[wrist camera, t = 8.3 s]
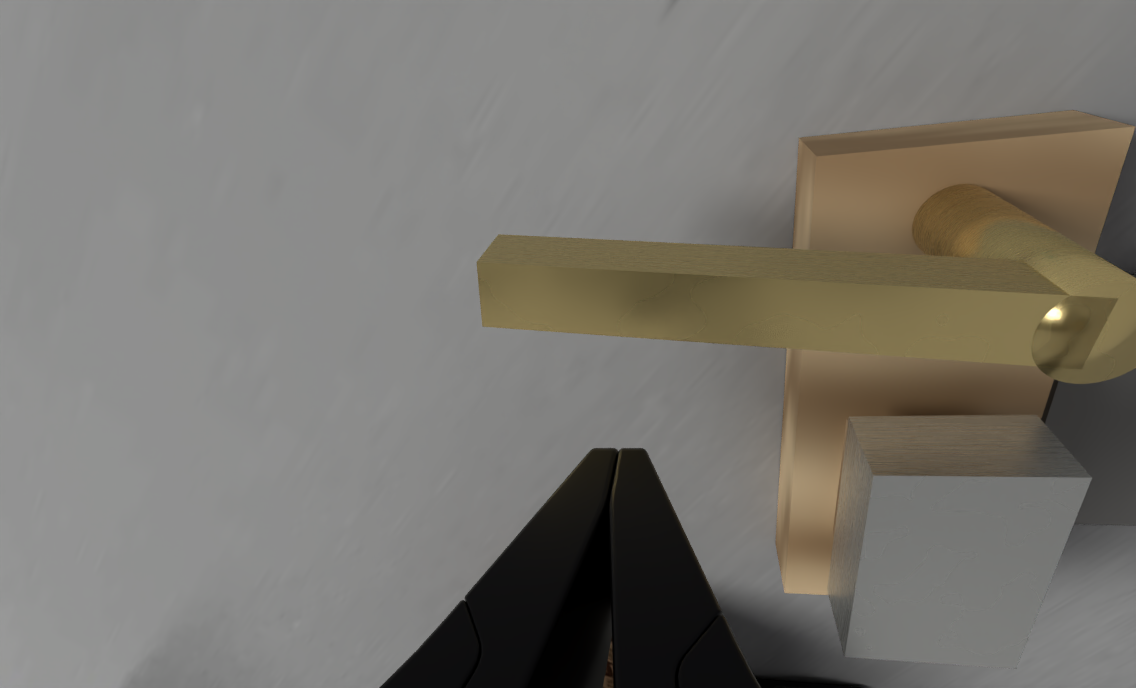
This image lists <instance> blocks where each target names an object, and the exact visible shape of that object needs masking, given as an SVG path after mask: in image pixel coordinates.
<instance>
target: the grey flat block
mask: <svg viewBox="0 0 1136 688" xmlns="http://www.w3.org/2000/svg"><path fill="white" fill-rule="evenodd" d="M1091 479H1092V477H1091V476H1090V475H1089V474H1088V472H1087V471H1086V470H1085V469H1084V468H1083V467H1082V466H1081V464H1080V463H1079V462H1078V461H1077V460H1076V459H1075V458H1074V457H1073V455H1072V454H1071V453H1070V452H1069V451H1068V450H1067V449H1066V447H1065V446H1064V445H1063V444H1062V443H1061V442H1060V441H1059V439H1058V438H1057V437H1056V436H1055V435H1054V434H1053V433H1052V432H1051V430H1050V429H1049V428H1048V427H1047V426H1046V425H1045V424H1044V422H1043V421H1042V420H1041V419H1040V418H1039V417H1038V416H1037V415H958V416H849V419H848V427H847V435H846V443H845V451H844V459H843V467H842V475H841V483H840V491H839V499H838V507H837V515H836V523H835V531H834V539H833V547H832V555H831V563H830V571H829V579H828V587H827V591H828V595H829V599H830V603H831V607H832V611H833V615H834V618H835V622H836V626H837V630H838V634H839V638H840V642H841V646H842V649H843V653H844V657H849V658H863V659H878V660H892V661H907V662H921V663H936V664H950V665H965V666H979V667H994V668H1008V669H1016V668H1017V665H1018V663H1019V660H1020V658H1021V655H1022V653H1023V650H1024V648H1025V645H1026V643H1027V640H1028V638H1029V635H1030V633H1031V630H1032V628H1033V625H1034V623H1035V620H1036V618H1037V615H1038V613H1039V610H1040V607H1041V605H1042V602H1043V600H1044V597H1045V595H1046V592H1047V590H1048V587H1049V585H1050V582H1051V580H1052V577H1053V575H1054V572H1055V570H1056V567H1057V565H1058V562H1059V560H1060V557H1061V555H1062V552H1063V550H1064V547H1065V545H1066V542H1067V540H1068V537H1069V535H1070V532H1071V530H1072V527H1073V525H1074V522H1075V520H1076V517H1077V515H1078V512H1079V510H1080V507H1081V505H1082V502H1083V500H1084V497H1085V495H1086V492H1087V489H1088V487H1089V484H1090V482H1091Z"/></svg>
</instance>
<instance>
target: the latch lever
mask: <svg viewBox="0 0 1136 688" xmlns="http://www.w3.org/2000/svg"><path fill="white" fill-rule="evenodd" d="M912 236H913V239H914V242H915V244H916V245H917V247H918V248H919V249H920V250H921V251H922V252H923V253H924V254H925V255H910V254H890V253H869V252H849V251H828V250H808V249H787V248H767V247H746V246H725V245H705V244H684V243H664V242H643V241H623V240H602V239H582V238H561V237H541V236H520V235H500V234H498V236H497V237H496V238H495V239H494V241H493V242H492V243H491V245H490V246H489V247H488V248H487V250H486V251H485V252H484V254H483V255H482V256H481V257H480V259H479V260H478V261H477V271H478V282H479V293H480V304H481V315H482V326H483V327H496V328H510V329H524V330H538V331H552V332H566V333H580V334H594V335H607V336H621V337H635V338H649V339H663V340H677V341H691V342H705V343H718V344H732V345H746V346H760V347H774V348H788V349H802V350H816V351H829V352H843V353H857V354H871V355H885V356H899V357H913V358H927V359H941V360H954V361H968V362H982V363H996V364H1010V365H1024V366H1037V367H1038V368H1039V369H1040V370H1041V371H1042V372H1043V373H1044V374H1046V375H1047V376H1049V377H1051V378H1053V379H1055V380H1058V381H1061V382H1066V383H1073V384H1089V383H1096V382H1102V381H1106V380H1110V379H1113V378H1116V377H1118V376H1121V375H1123V374H1125V373H1127V372H1129V371H1131V370H1133V369H1135V368H1136V278H1135V277H1133V276H1131V275H1130V274H1128V273H1126V272H1125V271H1123V270H1121V269H1120V268H1118V267H1116V266H1115V265H1113V264H1111V263H1109V262H1108V261H1106V260H1104V259H1103V258H1101V257H1099V256H1098V255H1096V254H1094V253H1093V252H1091V251H1089V250H1088V249H1086V248H1084V247H1083V246H1081V245H1079V244H1077V243H1076V242H1074V241H1072V240H1071V239H1069V238H1067V237H1066V236H1064V235H1062V234H1061V233H1059V232H1057V231H1056V230H1054V229H1052V228H1050V227H1049V226H1047V225H1045V224H1044V223H1042V222H1040V221H1039V220H1037V219H1035V218H1034V217H1032V216H1030V215H1029V214H1027V213H1025V212H1024V211H1022V210H1020V209H1018V208H1017V207H1015V206H1013V205H1012V204H1010V203H1008V202H1007V201H1005V200H1003V199H1002V198H1000V197H998V196H997V195H995V194H993V193H991V192H990V191H988V190H986V189H985V188H983V187H980V186H978V185H973V184H958V185H953V186H949V187H947V188H944V189H942V190H940V191H938V192H937V193H935V194H933V195H932V196H931V197H929V198H928V199H927V200H926V201H925V202H924V203H923V204H922V206H921V207H920V208H919V210H918V211H917V213H916V215H915V217H914V220H913V224H912Z"/></svg>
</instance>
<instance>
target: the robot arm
mask: <svg viewBox="0 0 1136 688" xmlns="http://www.w3.org/2000/svg"><path fill="white" fill-rule="evenodd" d="M465 601H466V602H465ZM465 601H464V600H462V601H460V602H459V604H458V605H457V606H456V607H455V608H454V609H453V611H452V612H451V613H450V614H449V615H448V616H447V618H446V619H445V620H444V621H443V622H442V623H441V624H440V625H439V626H438V628H437V629H436V630H435V631H434V632H433V633H432V634H431V635H430V636H429V637H428V639H427V640H426V641H425V642H424V643H423V644H422V645H421V646H420V647H419V649H418V650H417V651H416V652H415V653H414V654H413V655H412V656H411V657H410V658H409V659H408V660H407V661H406V662H405V663H404V664H403V665H402V666H401V667H400V668H399V669H398V670H397V671H396V672H395V673H394V674H393V675H392V676H391V677H390V678H389V679H388V680H387V681H386V682H385V683H384V684H383V685H382V686H381V687H379V688H603V684H604V678H605V672H606V666H607V661H608V655H609V649H610V643H611V637H612V653H613V687H614V688H859V687H848V686H835V685H822V684H810V683H797V682H784V681H771V680H759V679H756V678H755V677H754V675H753V673H752V671H751V669H750V667H749V665H748V663H747V661H746V659H745V657H744V655H743V653H742V651H741V649H740V647H739V645H738V643H737V642H736V639H735V637H734V635H733V633H732V631H731V629H730V627H729V625H728V623H727V620H726V618H725V617H724V616H722V611H721V608H720V606H719V604H718V602H717V600H716V598H715V596H714V594H713V591H712V589H711V587H710V585H709V583H708V581H707V579H706V577H705V574H704V572H703V570H702V568H701V566H700V564H699V562H698V560H697V557H696V555H695V553H694V551H693V549H692V547H691V545H690V543H689V540H688V538H687V536H686V534H685V532H684V530H683V528H682V526H681V523H680V521H679V519H678V517H677V515H676V513H675V511H674V509H673V506H672V504H671V502H670V500H669V498H668V496H667V494H666V492H665V489H664V487H663V485H662V483H661V481H660V479H659V477H658V475H657V472H656V470H655V468H654V466H653V464H652V462H651V460H650V458H649V455H648V453H647V451H646V450H645V449H643V448H622V449H620V450H619V452H618V450H617V449H615V448H594V449H592V450H591V451H590V452H589V453H588V454H587V455H586V456H585V457H584V458H583V460H582V461H581V462H580V463H579V464H578V465H577V467H576V468H575V469H574V470H573V471H572V472H571V474H570V475H569V476H568V477H567V478H566V479H565V481H564V482H563V483H562V484H561V485H560V486H559V488H558V489H557V490H556V491H555V492H554V493H553V495H552V496H551V497H550V498H549V499H548V500H547V502H546V503H545V504H544V505H543V506H542V507H541V509H540V510H539V511H538V512H537V513H536V514H535V515H534V517H533V518H532V519H531V520H530V521H529V522H528V524H527V525H526V526H525V527H524V528H523V529H522V531H521V532H520V533H519V534H518V535H517V536H516V538H515V539H514V540H513V541H512V542H511V543H510V545H509V546H508V547H507V548H506V549H505V550H504V552H503V553H502V554H501V555H500V556H499V557H498V559H497V560H496V561H495V562H494V563H493V564H492V566H491V567H490V568H489V569H488V570H487V571H486V572H485V574H484V575H483V576H482V577H481V578H480V579H479V581H478V582H477V583H476V584H475V585H474V586H473V588H472V589H471V590H470V591H469V592H468V593H467V595H466V596H465Z"/></svg>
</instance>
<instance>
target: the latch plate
mask: <svg viewBox="0 0 1136 688" xmlns="http://www.w3.org/2000/svg"><path fill="white" fill-rule="evenodd" d="M1134 130H1135V126H1132V125H1128V124H1124V123H1120V122H1117V121H1113V120H1109V119H1105V118H1101V117H1098V116H1094V115H1090V114H1086V113H1082V112H1079V111H1075V110H1069V111H1060V112H1050V113H1040V114H1030V115H1020V116H1010V117H1000V118H990V119H980V120H970V121H960V122H950V123H941V124H931V125H921V126H911V127H901V128H891V129H881V130H871V131H861V132H851V133H841V134H831V135H822V136H812V137H802V138H799V147H798V164H797V182H796V199H795V216H794V233H793V249H808V250H828V251H849V252H869V253H890V254H910V255H925V254H924V253H923V252H922V251H921V250H920V249H919V248H918V247H917V245H916V244H915V242H914V239H913V236H912V224H913V220H914V217H915V215H916V213H917V211H918V210H919V208H920V207H921V206H922V204H923V203H924V202H925V201H926V200H927V199H928V198H929V197H931V196H932V195H933V194H935V193H937V192H938V191H940V190H942V189H944V188H947V187H949V186H953V185H958V184H973V185H978V186H980V187H983V188H985V189H986V190H988V191H990V192H991V193H993V194H995V195H997V196H998V197H1000V198H1002V199H1003V200H1005V201H1007V202H1008V203H1010V204H1012V205H1013V206H1015V207H1017V208H1018V209H1020V210H1022V211H1024V212H1025V213H1027V214H1029V215H1030V216H1032V217H1034V218H1035V219H1037V220H1039V221H1040V222H1042V223H1044V224H1045V225H1047V226H1049V227H1050V228H1052V229H1054V230H1056V231H1057V232H1059V233H1061V234H1062V235H1064V236H1066V237H1067V238H1069V239H1071V240H1072V241H1074V242H1076V243H1077V244H1079V245H1081V246H1083V247H1084V248H1086V249H1088V250H1089V251H1091V252H1093V253H1094V254H1095V251H1096V247H1097V244H1098V241H1099V238H1100V235H1101V232H1102V229H1103V226H1104V223H1105V220H1106V216H1107V213H1108V210H1109V207H1110V204H1111V201H1112V198H1113V195H1114V192H1115V189H1116V185H1117V182H1118V179H1119V176H1120V173H1121V170H1122V167H1123V164H1124V161H1125V158H1126V154H1127V151H1128V148H1129V145H1130V142H1131V139H1132V136H1133V133H1134ZM1053 381H1054V379H1053V378H1051V377H1049V376H1047V375H1046V374H1044V373H1043V372H1042V371H1041V370H1040V369H1039V368H1038V367H1037V366H1024V365H1010V364H996V363H982V362H968V361H954V360H941V359H927V358H913V357H899V356H885V355H871V354H857V353H843V352H829V351H816V350H802V349H788V348H787V355H786V372H785V389H784V406H783V424H782V441H781V458H780V476H779V493H778V510H777V527H776V548H777V554H778V559H779V565H780V570H781V576H782V581H783V586H784V592H785V593H798V594H818V595H828V591H827V587H828V579H829V571H830V563H831V555H832V547H833V539H834V531H835V523H836V515H837V507H838V499H839V491H840V483H841V475H842V467H843V459H844V451H845V443H846V435H847V427H848V419H849V416H958V415H1037V416H1038V417H1039V418H1040V419H1041V418H1042V415H1043V412H1044V409H1045V406H1046V403H1047V400H1048V396H1049V393H1050V390H1051V387H1052V384H1053Z"/></svg>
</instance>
